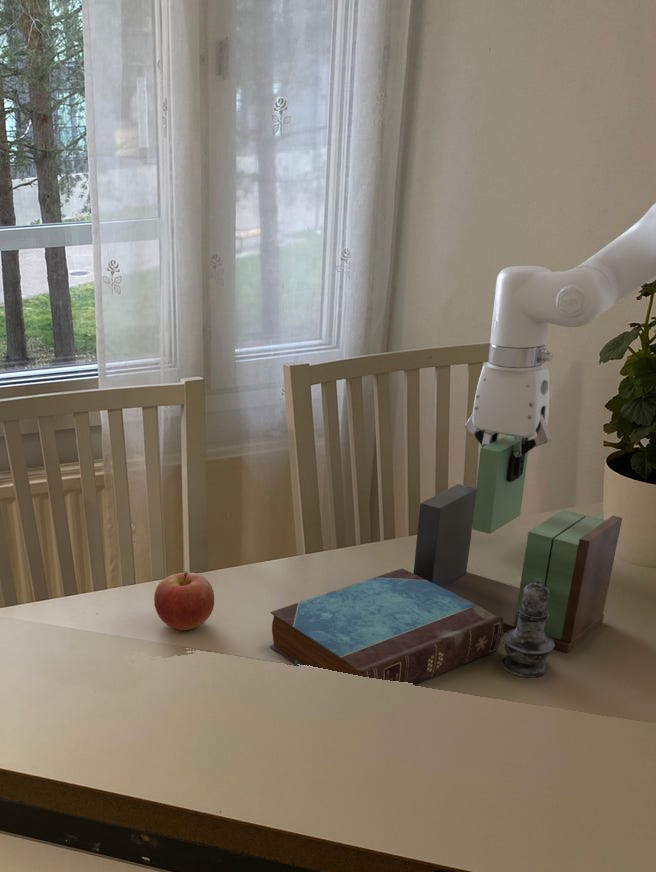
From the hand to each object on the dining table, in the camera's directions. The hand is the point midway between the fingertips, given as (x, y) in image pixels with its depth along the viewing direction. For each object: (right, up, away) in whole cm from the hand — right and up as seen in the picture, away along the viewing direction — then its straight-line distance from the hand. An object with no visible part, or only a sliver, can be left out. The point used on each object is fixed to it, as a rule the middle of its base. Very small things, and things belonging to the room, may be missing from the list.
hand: (501, 475), depth 140 cm
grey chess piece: (-8, -26, -29) cm, 40 cm away
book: (-24, -25, -24) cm, 42 cm away
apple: (-49, -22, -17) cm, 56 cm away
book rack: (-6, -20, -15) cm, 26 cm away
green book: (0, -7, +3) cm, 8 cm away
